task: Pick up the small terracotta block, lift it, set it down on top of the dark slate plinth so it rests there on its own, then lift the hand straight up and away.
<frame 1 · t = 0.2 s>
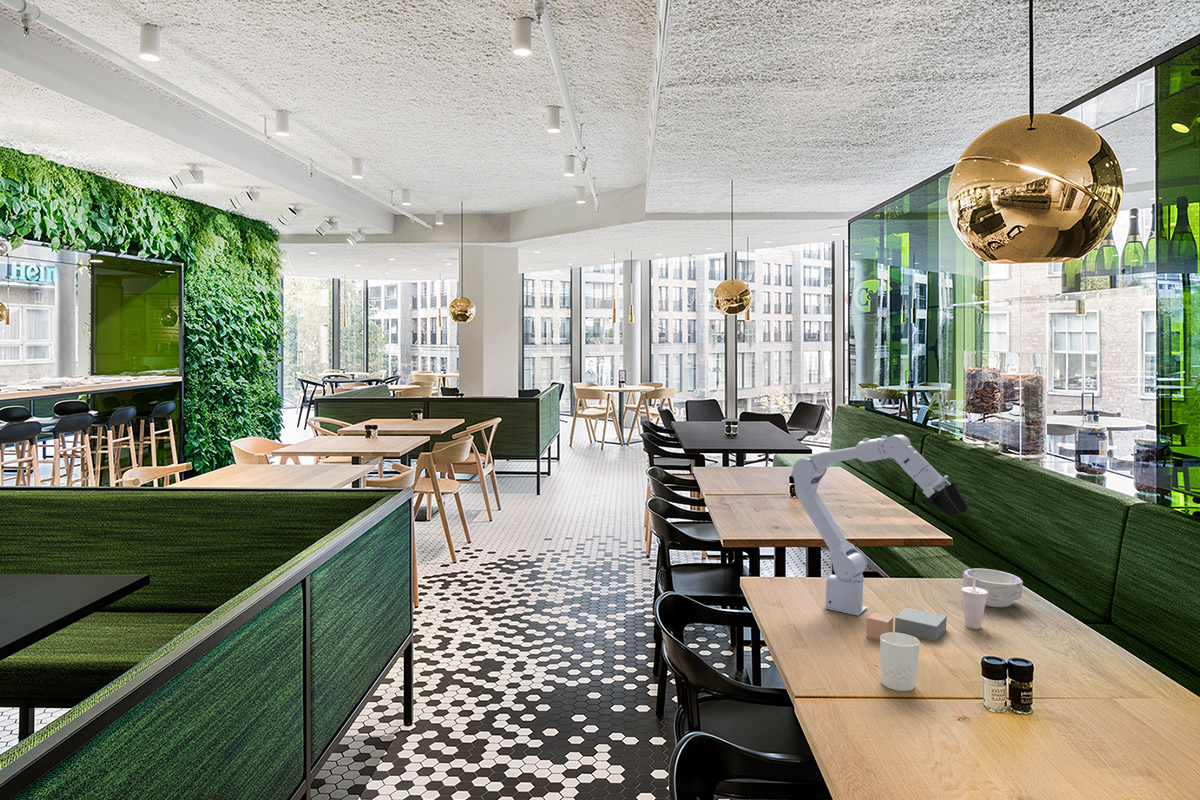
hand: (961, 513, 192), 31 cm above the table, tool tilted 45°, fingers open, 7 cm apart
white cup: (897, 685, 163), on the table
smoothie: (972, 627, 199), on the table
terracotta block: (879, 636, 191), on the table
slate plinth: (920, 631, 196), on the table
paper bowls: (991, 603, 219), on the table
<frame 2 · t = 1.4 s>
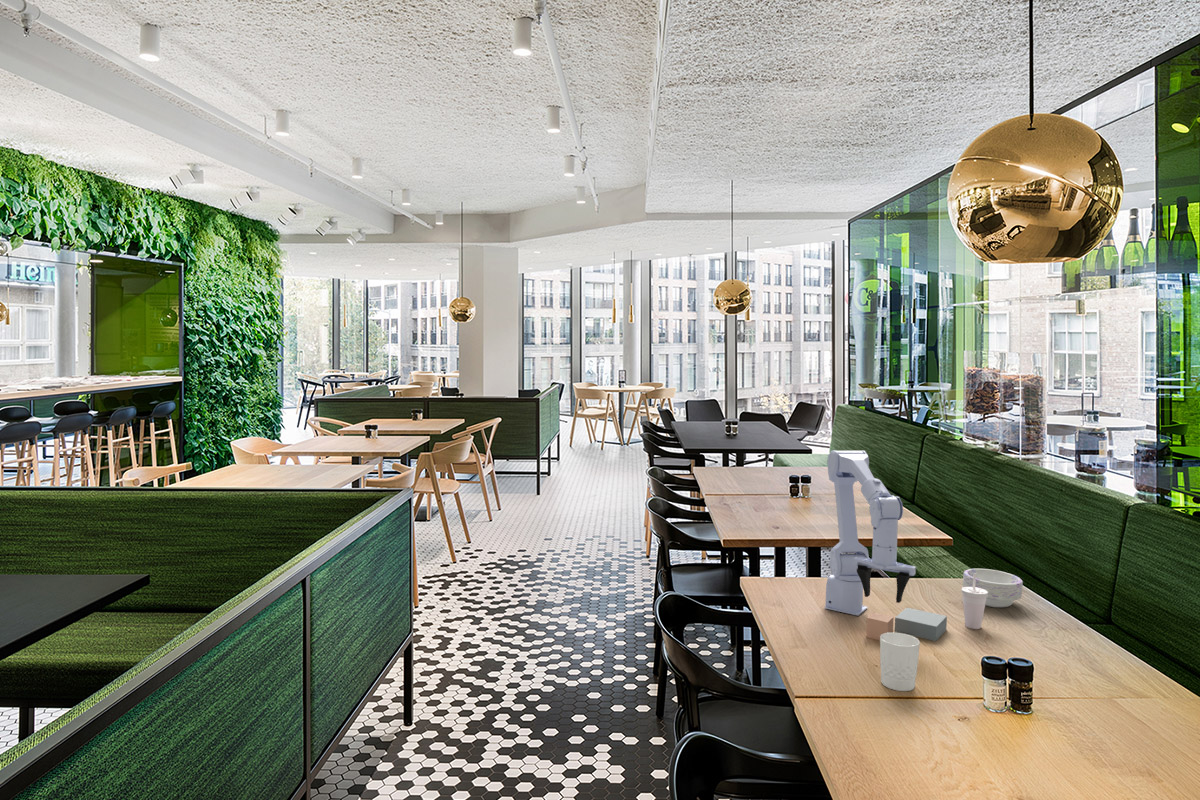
hand: (882, 598, 190), 10 cm above the table, tool pointing down, fingers open, 7 cm apart
nothing on the table moved.
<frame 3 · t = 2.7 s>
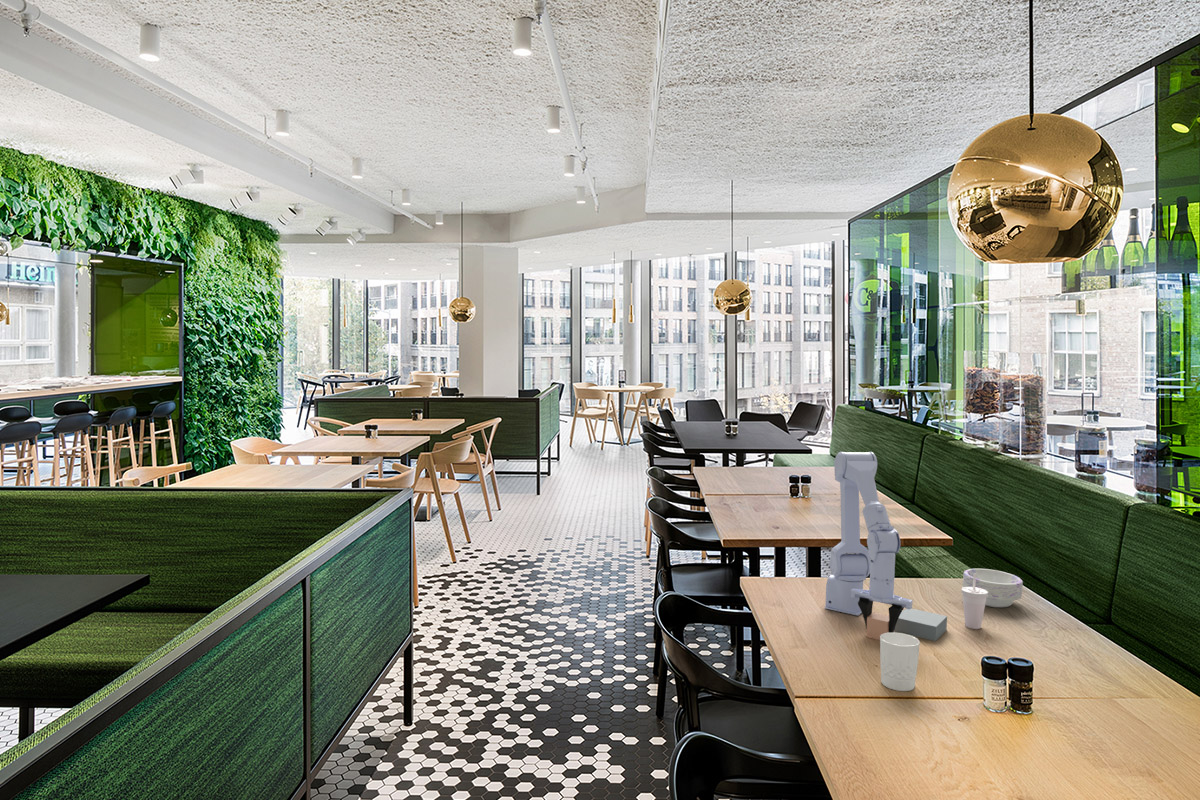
hand: (879, 630, 191), 1 cm above the table, tool pointing down, fingers closed on terracotta block, 5 cm apart
terracotta block: (879, 636, 191), on the table, touching gripper
everything else where it was.
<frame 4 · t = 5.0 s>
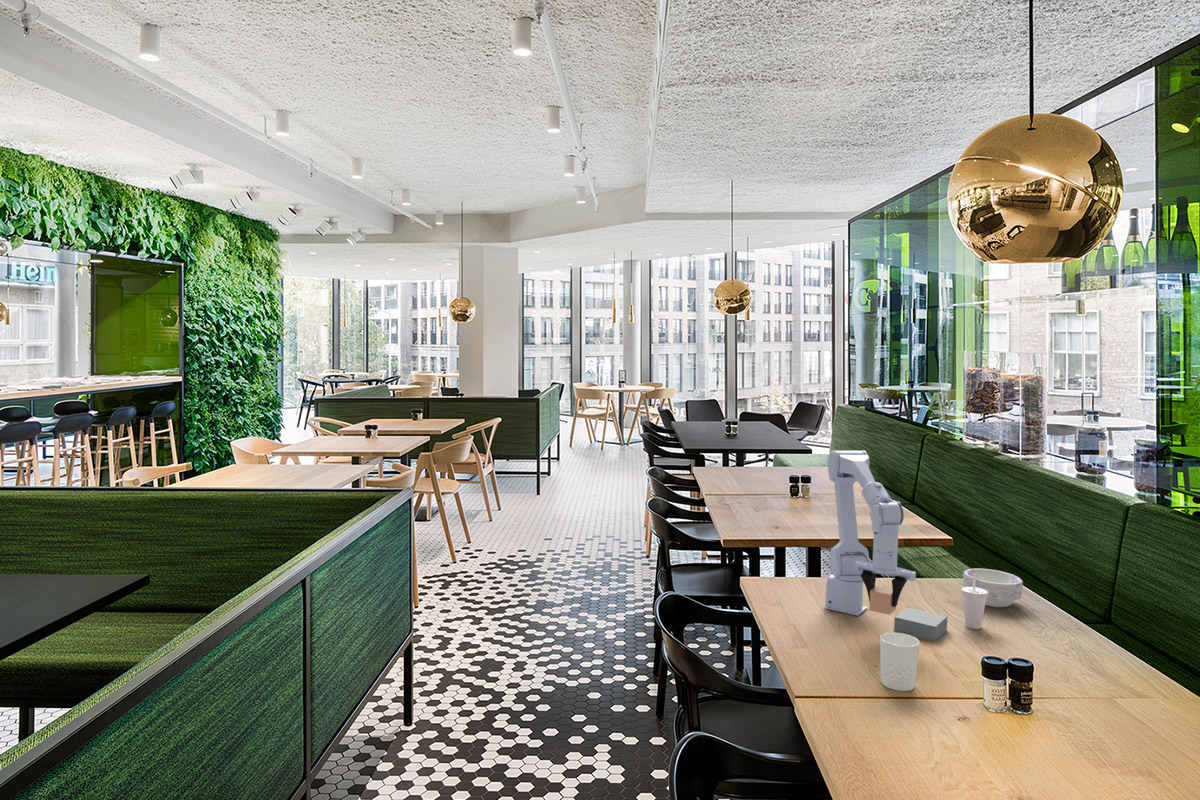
hand: (883, 603, 191), 8 cm above the table, tool pointing down, fingers closed on terracotta block, 5 cm apart
terracotta block: (882, 609, 191), point 7 cm above the table, touching gripper
everything else where it was.
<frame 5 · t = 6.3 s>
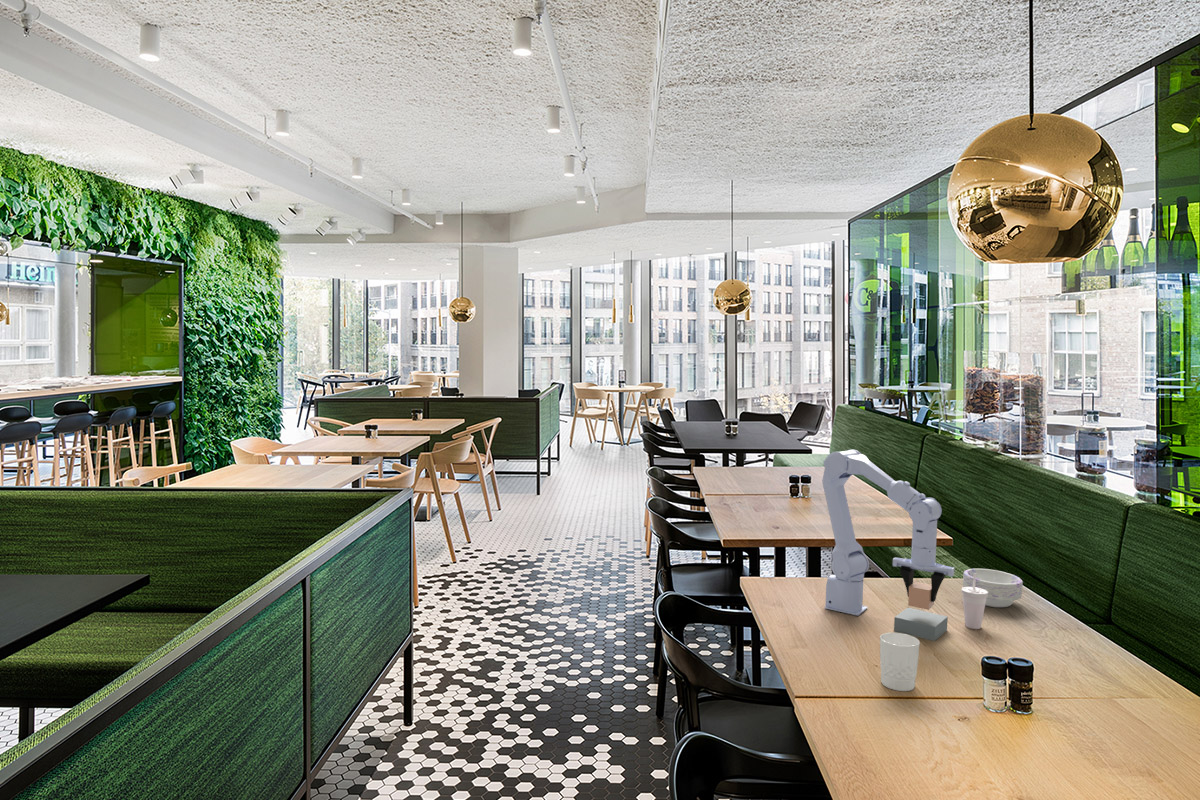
hand: (921, 598, 195), 8 cm above the table, tool pointing down, fingers closed on terracotta block, 5 cm apart
terracotta block: (921, 605, 195), point 7 cm above the table, touching gripper
everything else where it was.
when the fingers open (6 cm above the table, at t = 7.4 s): terracotta block moves 1 cm, point 4 cm above the table.
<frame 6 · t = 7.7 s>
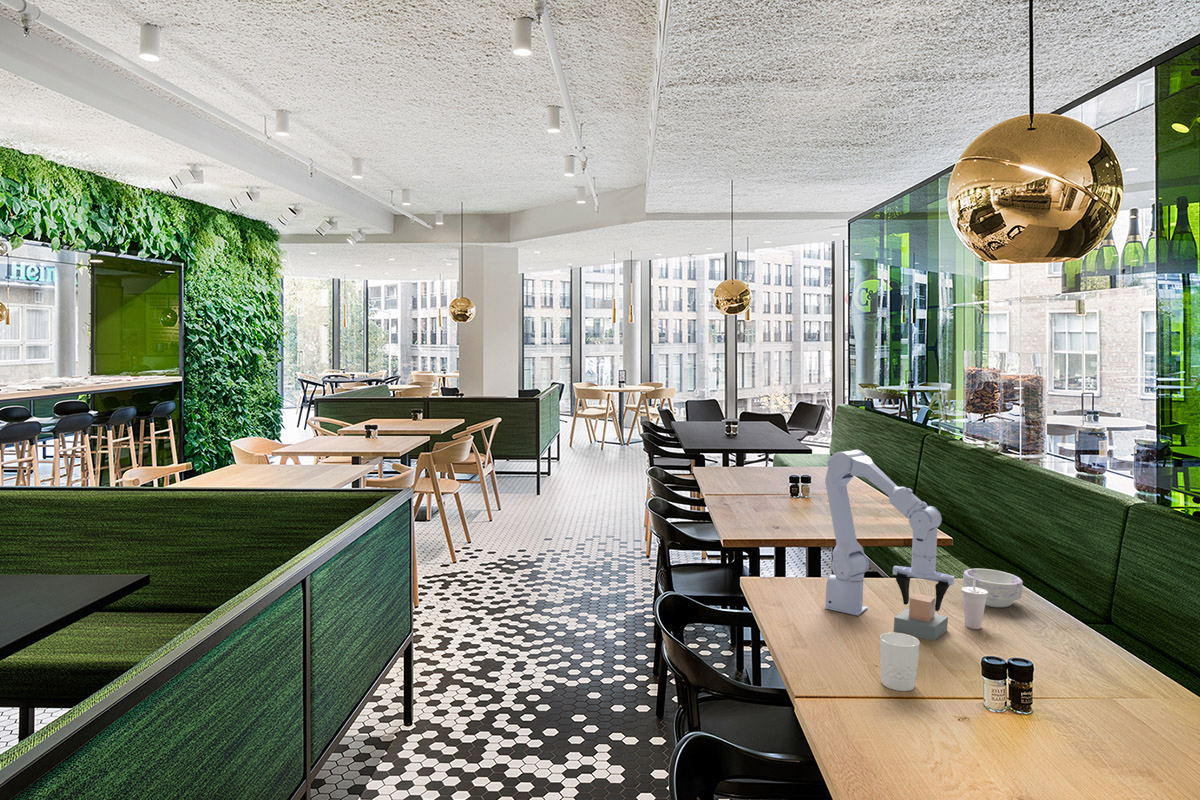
hand: (921, 606, 195), 6 cm above the table, tool pointing down, fingers open, 7 cm apart
terracotta block: (921, 616, 196), point 4 cm above the table
everything else where it was.
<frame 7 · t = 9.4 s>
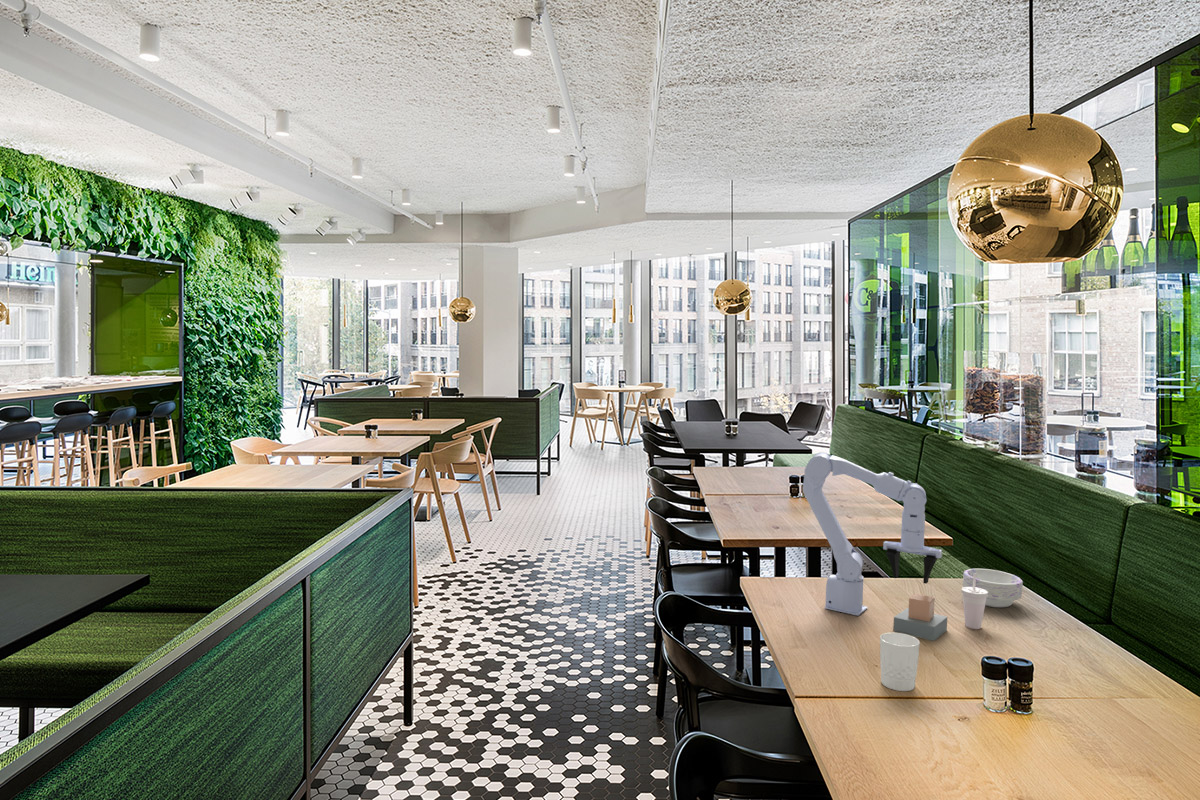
hand: (910, 579, 204), 10 cm above the table, tool pointing down, fingers open, 7 cm apart
nothing on the table moved.
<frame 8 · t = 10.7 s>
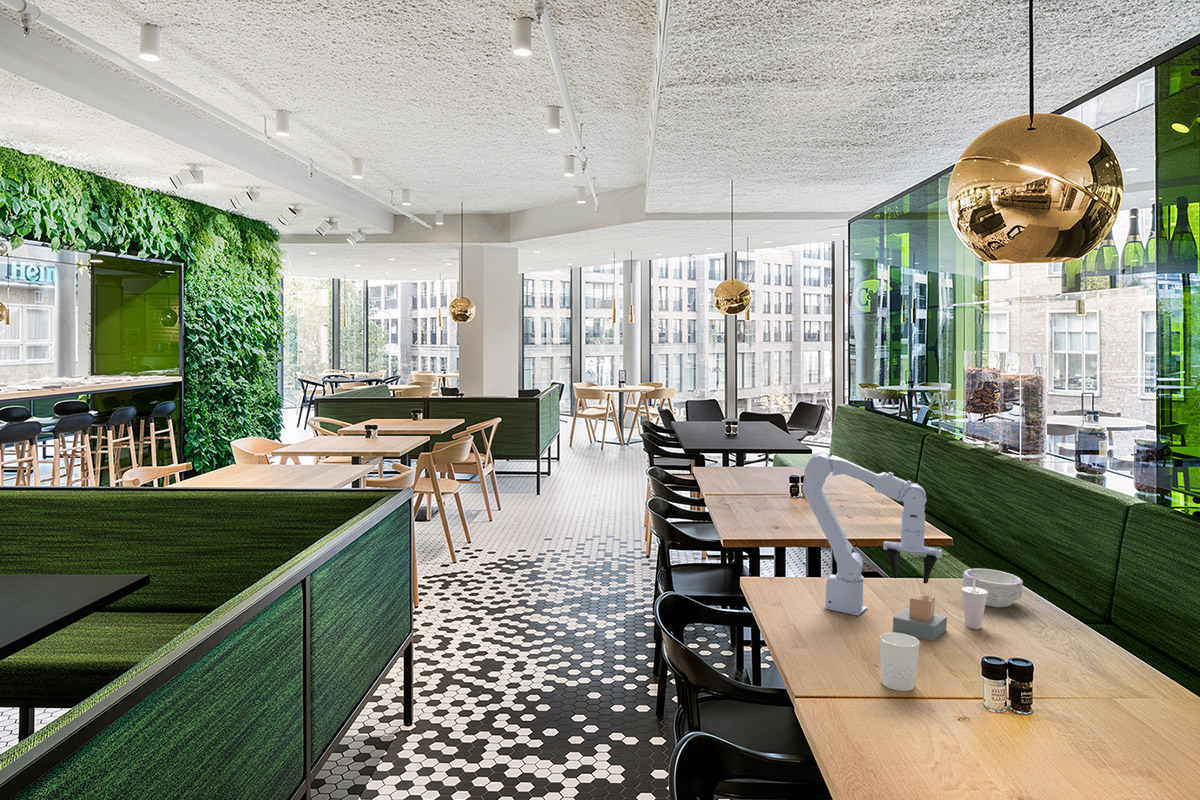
hand: (910, 579, 204), 10 cm above the table, tool pointing down, fingers open, 7 cm apart
nothing on the table moved.
at the end: terracotta block 0.6 cm off-centre on the slate plinth, point 4.0 cm above the slate plinth's base; terracotta block tilted 0°; the gripper is holding nothing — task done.
